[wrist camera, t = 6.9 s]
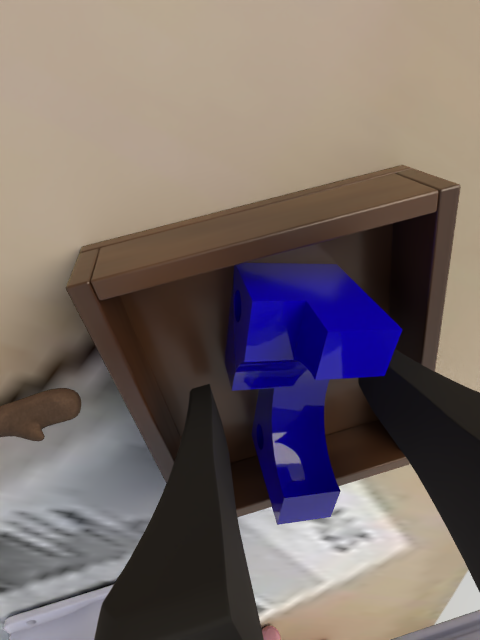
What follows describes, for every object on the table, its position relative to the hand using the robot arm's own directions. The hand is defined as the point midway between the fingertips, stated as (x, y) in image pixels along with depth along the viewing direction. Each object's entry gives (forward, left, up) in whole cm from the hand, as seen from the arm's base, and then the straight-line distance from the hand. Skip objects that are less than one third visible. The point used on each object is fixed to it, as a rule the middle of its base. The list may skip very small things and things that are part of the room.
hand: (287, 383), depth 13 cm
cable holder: (0, 0, -2) cm, 2 cm away
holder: (0, 0, -2) cm, 2 cm away
